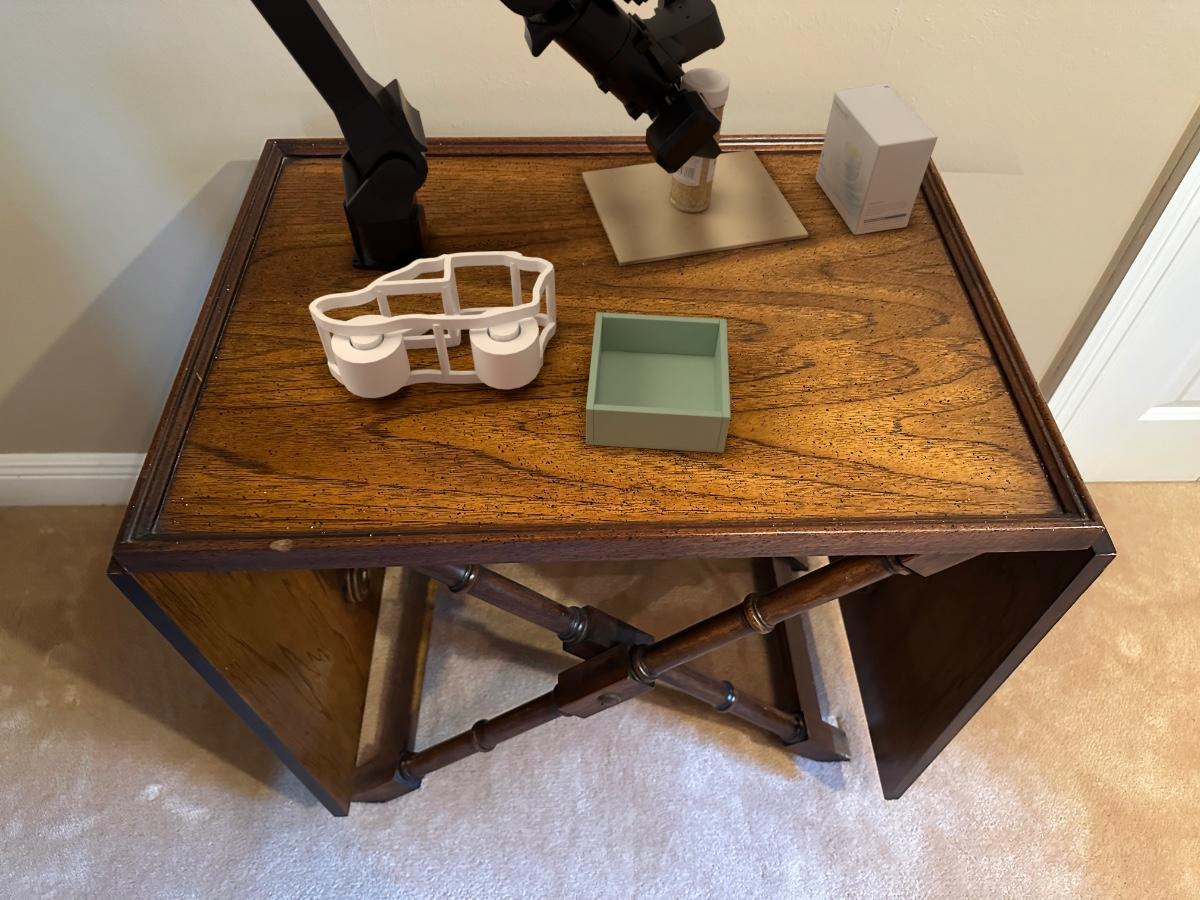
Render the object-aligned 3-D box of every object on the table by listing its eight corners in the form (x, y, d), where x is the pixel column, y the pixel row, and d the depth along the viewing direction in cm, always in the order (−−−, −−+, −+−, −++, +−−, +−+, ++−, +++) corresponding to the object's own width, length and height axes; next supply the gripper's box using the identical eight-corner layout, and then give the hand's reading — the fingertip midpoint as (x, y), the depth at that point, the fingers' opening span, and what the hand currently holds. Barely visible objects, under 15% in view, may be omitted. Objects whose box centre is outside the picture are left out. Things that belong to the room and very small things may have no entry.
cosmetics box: (811, 179, 92) (833, 88, 83) (865, 172, 93) (891, 81, 84) (851, 236, 85) (879, 143, 77) (908, 228, 86) (942, 135, 78)
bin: (586, 444, 68) (585, 409, 64) (595, 348, 75) (596, 311, 71) (723, 453, 67) (730, 417, 64) (720, 355, 74) (726, 318, 71)
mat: (619, 266, 82) (619, 262, 81) (582, 176, 91) (582, 172, 91) (807, 237, 85) (808, 233, 85) (752, 153, 95) (752, 149, 94)
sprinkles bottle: (719, 205, 87) (740, 82, 77) (685, 219, 86) (701, 94, 75) (692, 184, 90) (709, 61, 79) (658, 196, 88) (671, 73, 78)
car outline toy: (324, 414, 69) (301, 351, 63) (337, 324, 76) (317, 260, 70) (563, 399, 71) (561, 336, 65) (554, 311, 77) (552, 247, 72)
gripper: (711, 15, 63) (813, 131, 74) (642, -76, 75) (739, 36, 85) (609, 123, 68) (718, 218, 79) (558, 22, 79) (660, 117, 90)
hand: (710, 142), depth 83 cm, fingers closed on sprinkles bottle, 4 cm apart
